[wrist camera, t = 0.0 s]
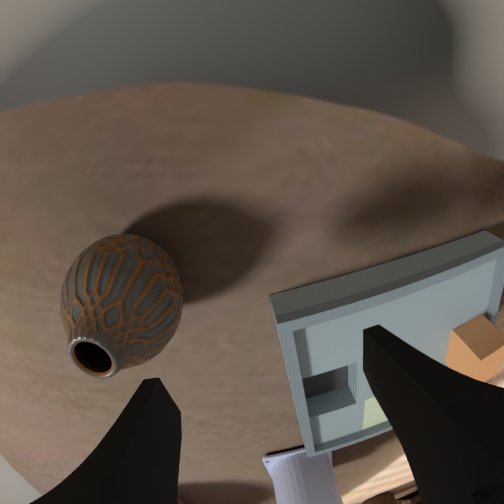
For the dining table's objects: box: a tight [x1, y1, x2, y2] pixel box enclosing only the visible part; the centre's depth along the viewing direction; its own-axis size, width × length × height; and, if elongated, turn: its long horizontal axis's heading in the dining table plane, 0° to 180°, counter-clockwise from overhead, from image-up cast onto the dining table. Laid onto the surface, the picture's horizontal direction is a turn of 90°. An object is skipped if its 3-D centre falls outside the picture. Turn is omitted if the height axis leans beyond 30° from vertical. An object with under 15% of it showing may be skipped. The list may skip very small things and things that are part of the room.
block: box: [444, 314, 504, 382], centre depth 19 cm, size 4×4×4 cm
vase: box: [60, 234, 183, 378], centre depth 15 cm, size 7×7×9 cm
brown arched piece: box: [396, 494, 422, 504], centre depth 44 cm, size 16×13×10 cm
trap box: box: [269, 230, 504, 457], centre depth 22 cm, size 18×20×3 cm
